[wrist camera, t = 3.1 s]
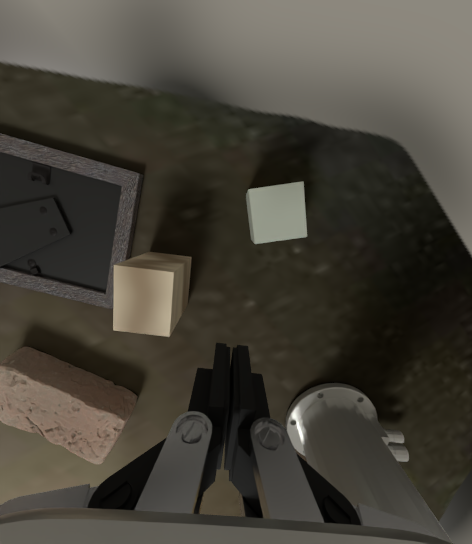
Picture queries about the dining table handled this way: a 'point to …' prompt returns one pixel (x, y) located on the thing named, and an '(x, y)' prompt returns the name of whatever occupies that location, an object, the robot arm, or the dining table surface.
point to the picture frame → (64, 221)
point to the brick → (63, 403)
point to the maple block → (150, 293)
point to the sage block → (277, 212)
